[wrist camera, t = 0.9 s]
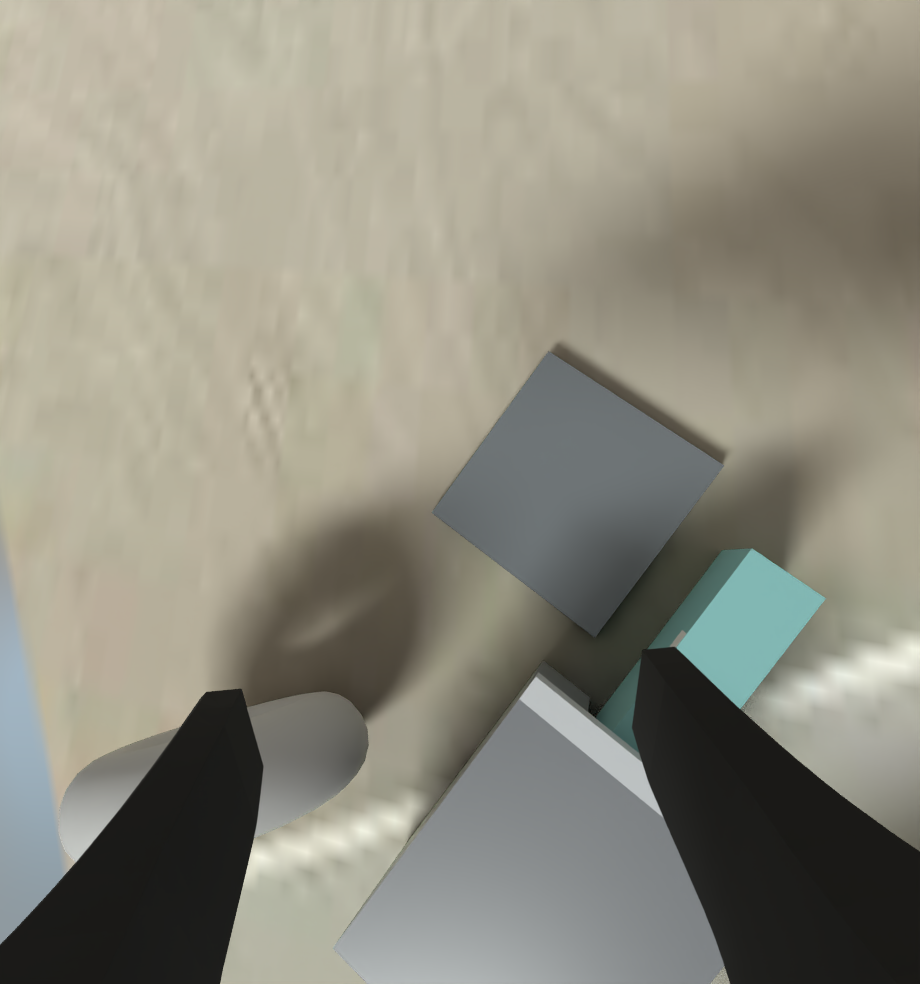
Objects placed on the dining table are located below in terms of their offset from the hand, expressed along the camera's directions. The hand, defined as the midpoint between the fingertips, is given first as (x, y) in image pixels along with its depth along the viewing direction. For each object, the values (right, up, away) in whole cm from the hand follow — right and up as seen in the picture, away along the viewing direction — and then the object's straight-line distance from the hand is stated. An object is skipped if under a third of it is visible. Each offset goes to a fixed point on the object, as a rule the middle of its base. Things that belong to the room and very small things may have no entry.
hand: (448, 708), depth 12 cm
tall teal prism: (+8, -3, +12) cm, 15 cm away
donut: (-7, -6, +16) cm, 18 cm away
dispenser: (+4, -8, +13) cm, 16 cm away
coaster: (+5, +4, +14) cm, 15 cm away
